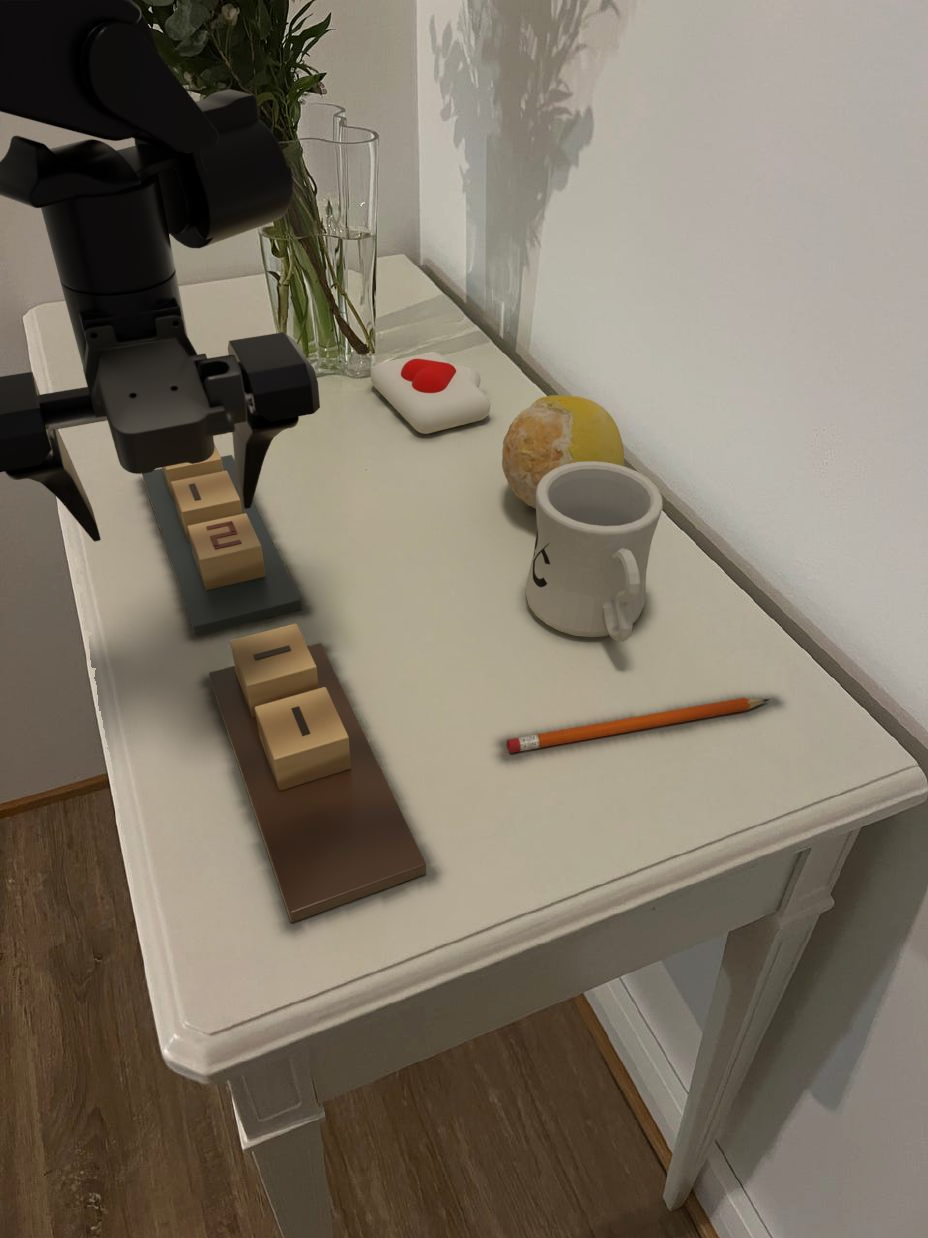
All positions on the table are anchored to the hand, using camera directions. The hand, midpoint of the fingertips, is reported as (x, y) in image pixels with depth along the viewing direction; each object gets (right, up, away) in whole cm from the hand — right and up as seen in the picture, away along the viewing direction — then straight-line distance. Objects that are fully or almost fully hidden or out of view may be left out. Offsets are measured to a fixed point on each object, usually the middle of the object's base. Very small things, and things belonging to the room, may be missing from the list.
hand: (173, 521), depth 58 cm
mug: (+28, -6, +13) cm, 31 cm away
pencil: (+30, -14, +4) cm, 33 cm away
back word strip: (-2, 0, +18) cm, 18 cm away
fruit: (+26, +3, +23) cm, 35 cm away
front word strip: (+8, -16, +1) cm, 18 cm away
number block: (0, -2, +14) cm, 14 cm away
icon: (+15, +16, +37) cm, 43 cm away
